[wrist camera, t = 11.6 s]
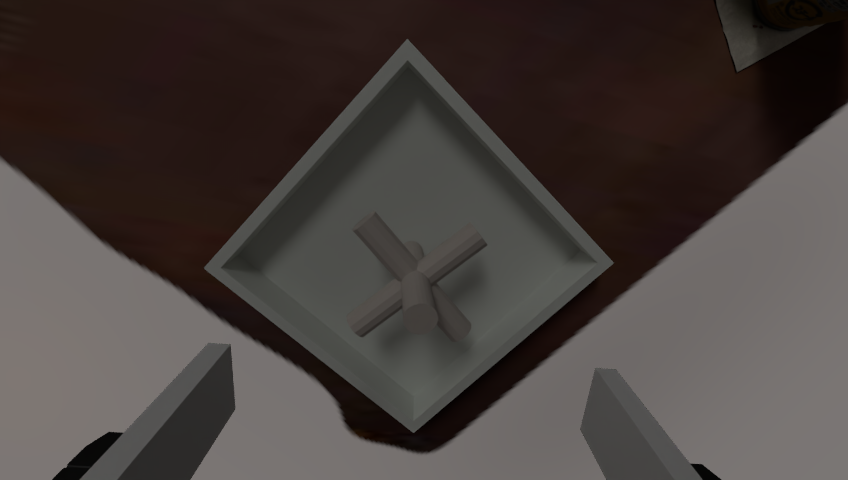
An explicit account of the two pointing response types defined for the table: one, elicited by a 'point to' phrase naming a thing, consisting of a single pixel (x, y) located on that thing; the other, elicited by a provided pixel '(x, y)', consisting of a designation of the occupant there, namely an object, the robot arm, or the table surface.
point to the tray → (410, 221)
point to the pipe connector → (414, 280)
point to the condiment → (772, 24)
